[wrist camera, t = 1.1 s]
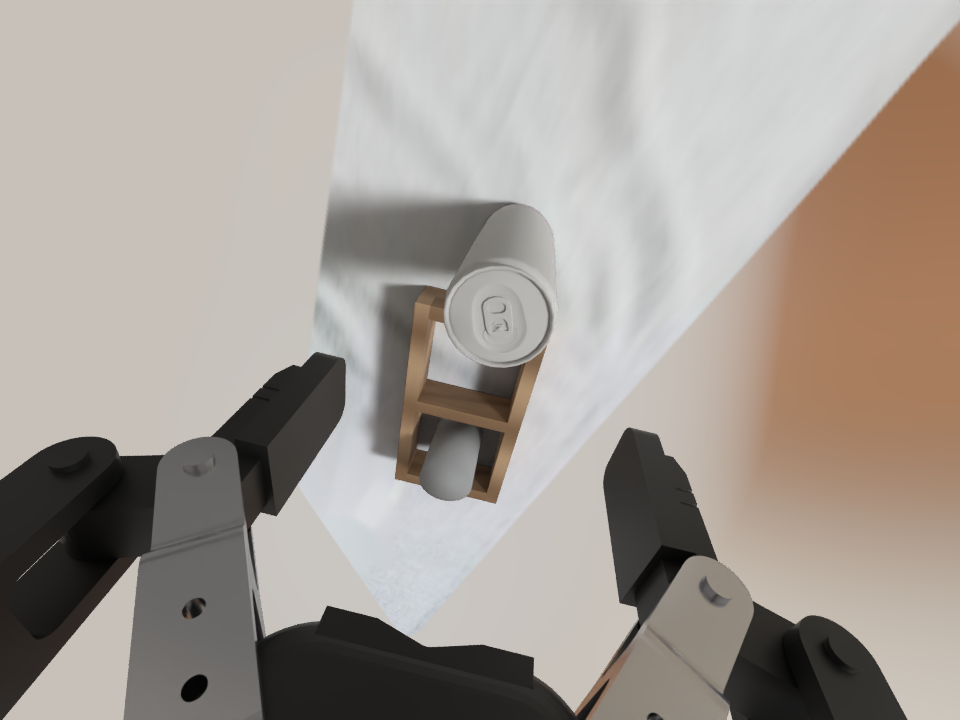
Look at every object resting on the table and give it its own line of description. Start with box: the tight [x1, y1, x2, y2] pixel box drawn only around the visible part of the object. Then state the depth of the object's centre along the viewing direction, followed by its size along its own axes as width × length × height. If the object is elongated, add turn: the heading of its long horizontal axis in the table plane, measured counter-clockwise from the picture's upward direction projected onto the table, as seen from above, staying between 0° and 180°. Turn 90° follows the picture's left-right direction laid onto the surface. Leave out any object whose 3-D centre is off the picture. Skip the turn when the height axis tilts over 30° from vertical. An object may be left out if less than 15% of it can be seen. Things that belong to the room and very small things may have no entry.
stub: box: [419, 418, 483, 501], centre depth 33 cm, size 4×4×6 cm
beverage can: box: [444, 204, 558, 368], centre depth 22 cm, size 5×5×12 cm
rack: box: [395, 286, 547, 504], centre depth 33 cm, size 17×9×3 cm, turn 169°
